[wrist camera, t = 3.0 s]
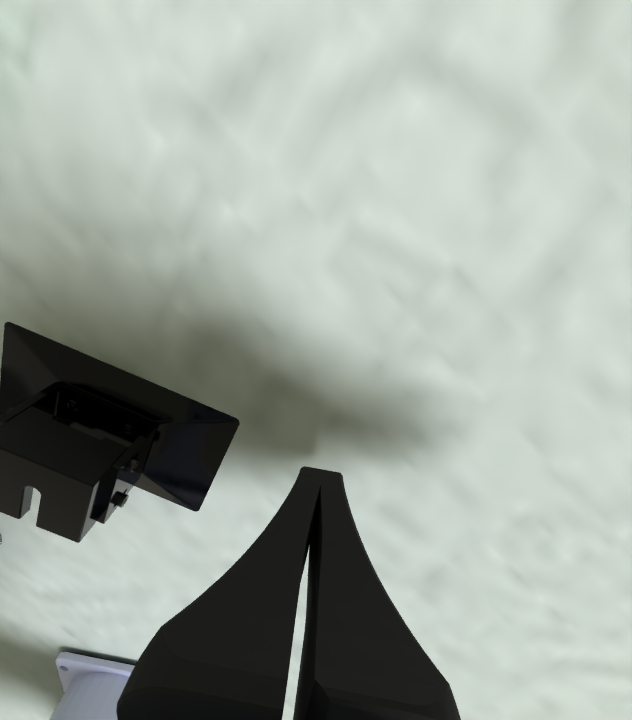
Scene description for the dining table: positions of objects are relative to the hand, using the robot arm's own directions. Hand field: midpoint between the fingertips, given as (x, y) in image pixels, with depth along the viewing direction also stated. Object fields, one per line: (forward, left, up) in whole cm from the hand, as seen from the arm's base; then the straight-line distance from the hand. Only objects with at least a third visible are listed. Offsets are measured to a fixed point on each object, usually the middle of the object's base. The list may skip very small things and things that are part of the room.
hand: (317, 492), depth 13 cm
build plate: (-1, +9, -3) cm, 9 cm away
